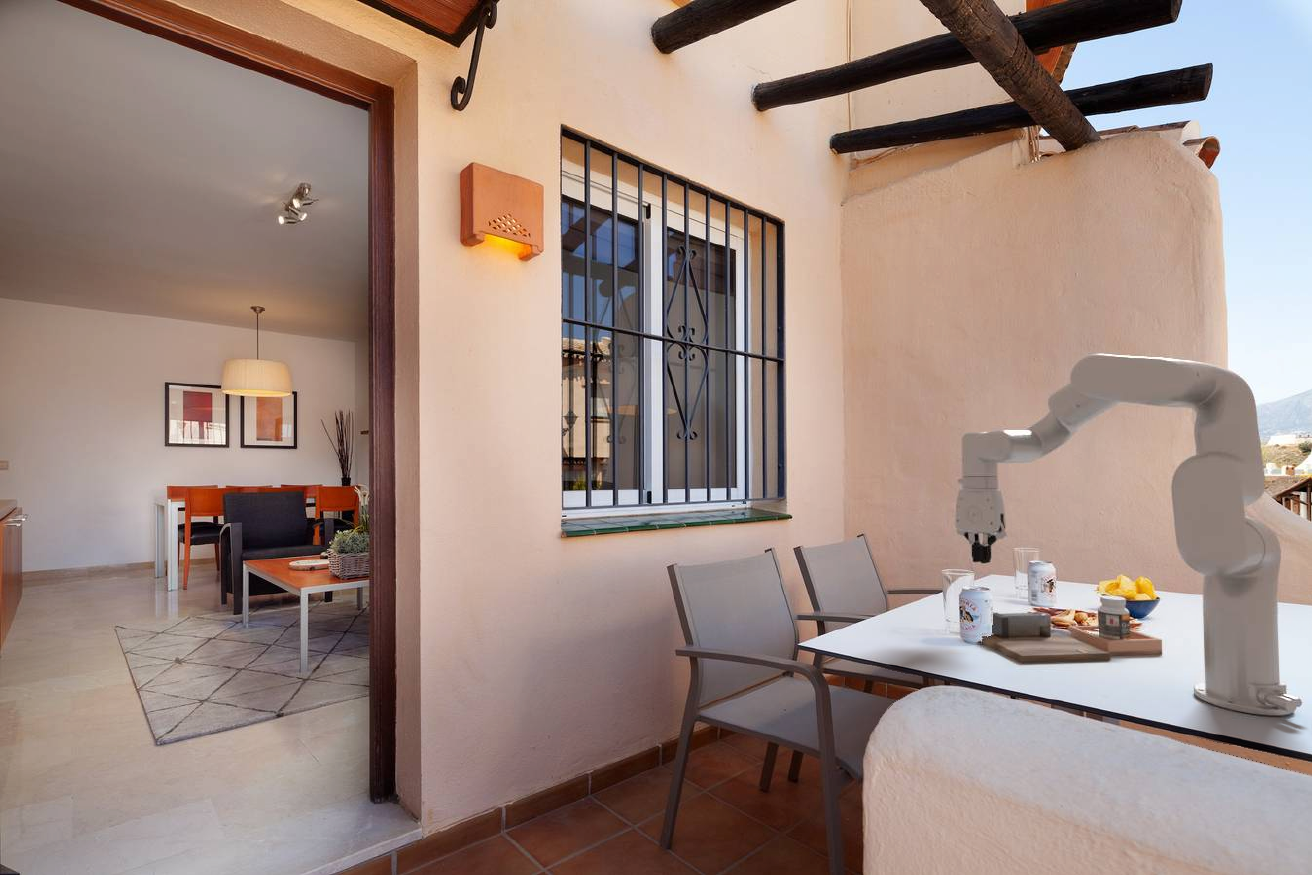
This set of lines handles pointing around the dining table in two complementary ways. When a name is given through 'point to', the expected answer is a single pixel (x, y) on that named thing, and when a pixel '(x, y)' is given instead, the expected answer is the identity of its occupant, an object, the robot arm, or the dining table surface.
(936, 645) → the dining table surface
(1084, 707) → the dining table surface
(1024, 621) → the grey block
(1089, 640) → the tray
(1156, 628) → the dining table surface
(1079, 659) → the cutting board
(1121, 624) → the pill bottle
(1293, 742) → the dining table surface
